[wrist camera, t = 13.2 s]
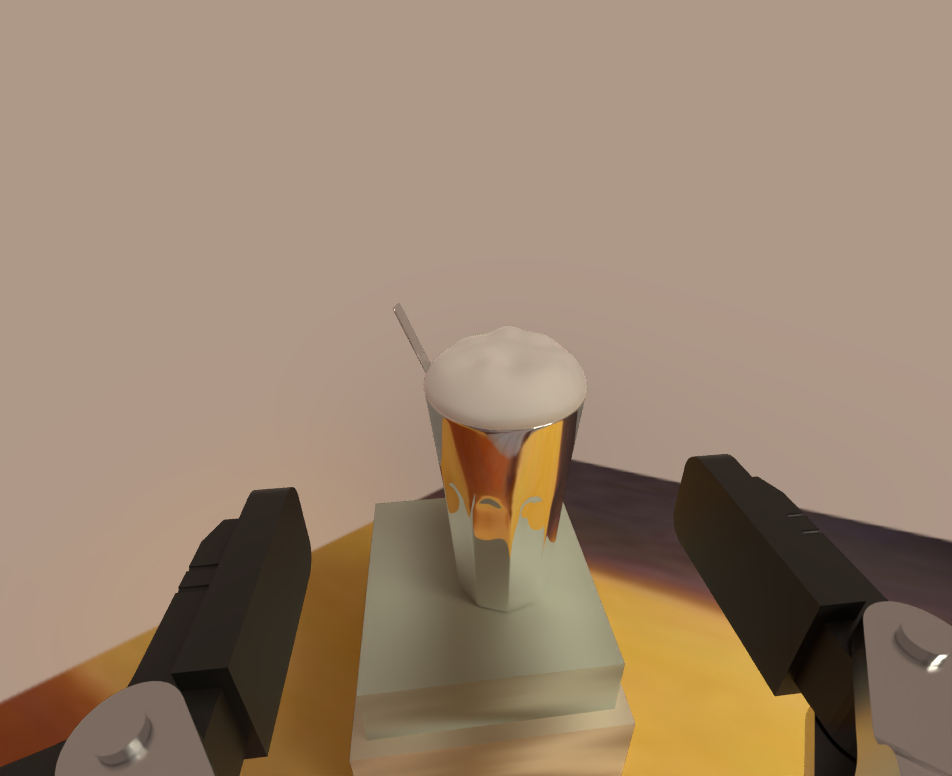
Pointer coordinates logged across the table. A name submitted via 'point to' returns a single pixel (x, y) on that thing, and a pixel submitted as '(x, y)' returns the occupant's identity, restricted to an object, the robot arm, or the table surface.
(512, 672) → the tower base
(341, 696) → the table surface
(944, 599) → the table surface
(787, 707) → the table surface
